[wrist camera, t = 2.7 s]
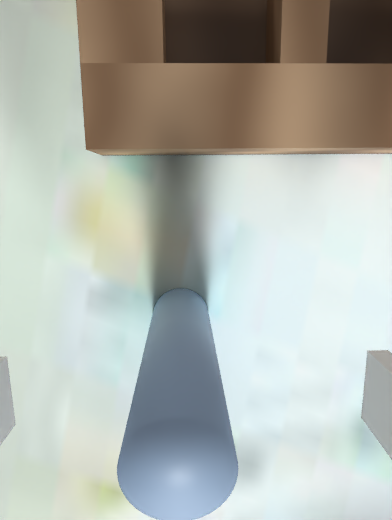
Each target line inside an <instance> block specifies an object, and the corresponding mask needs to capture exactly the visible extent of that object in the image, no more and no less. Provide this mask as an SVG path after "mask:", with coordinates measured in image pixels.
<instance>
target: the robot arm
mask: <svg viewBox="0 0 392 520" xmlns="http://www.w3.org/2000/svg"><path fill="white" fill-rule="evenodd" d="M361 418H362V419H363V421H364V422H365V423H366V425H367V426H368V428H369V429H370V430H371V432H372V433H373V434H374V436H375V437H376V439H377V440H378V441H379V443H380V444H381V445H382V447H383V448H384V449H385V451H386V452H387V454H388V455H389V456H390V458H391V459H392V353H391V352H390V351H388V350H381V351H367V361H366V372H365V382H364V393H363V403H362V414H361ZM14 426H15V416H14V408H13V400H12V392H11V384H10V376H9V368H8V360H7V357H0V445H1V444H2V442H3V441H4V440H5V438H6V437H7V435H8V434H9V433H10V431H11V430H12V428H13V427H14Z"/></svg>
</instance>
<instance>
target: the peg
mask: <svg viewBox="0 0 392 520" xmlns="http://www.w3.org/2000/svg"><path fill="white" fill-rule="evenodd" d="M117 476H118V481H119V485H120V488H121V490H122V492H123V494H124V495H125V497H126V498H127V500H128V501H129V502H130V503H131V504H132V505H133V506H134V507H135V508H136V509H138V510H139V511H141V512H142V513H144V514H146V515H148V516H150V517H153V518H155V519H159V520H194V519H197V518H201V517H203V516H205V515H207V514H209V513H211V512H213V511H214V510H216V509H217V508H218V507H220V506H221V505H222V504H223V503H224V502H225V501H226V499H227V498H228V497H229V496H230V494H231V492H232V490H233V489H234V486H235V484H236V480H237V476H238V461H237V456H236V451H235V446H234V441H233V436H232V431H231V426H230V420H229V415H228V410H227V405H226V400H225V395H224V390H223V385H222V380H221V375H220V370H219V365H218V360H217V355H216V349H215V344H214V339H213V334H212V329H211V324H210V319H209V314H208V309H207V306H206V303H205V301H204V300H203V298H202V297H201V296H200V295H198V294H197V293H196V292H194V291H192V290H189V289H184V288H178V289H173V290H170V291H168V292H166V293H164V294H163V295H162V296H161V297H160V298H159V299H158V301H157V302H156V304H155V307H154V311H153V315H152V319H151V323H150V328H149V332H148V336H147V340H146V345H145V349H144V353H143V357H142V362H141V366H140V370H139V374H138V379H137V383H136V387H135V391H134V396H133V400H132V404H131V408H130V413H129V417H128V421H127V425H126V430H125V434H124V438H123V442H122V447H121V451H120V455H119V459H118V465H117Z"/></svg>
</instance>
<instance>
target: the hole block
mask: <svg viewBox="0 0 392 520" xmlns="http://www.w3.org/2000/svg"><path fill="white" fill-rule="evenodd" d="M76 5H77V21H78V36H79V51H80V66H81V81H82V96H83V112H84V127H85V142H86V150H89V151H92V152H95V153H97V154H100V155H244V154H392V0H76Z"/></svg>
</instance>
